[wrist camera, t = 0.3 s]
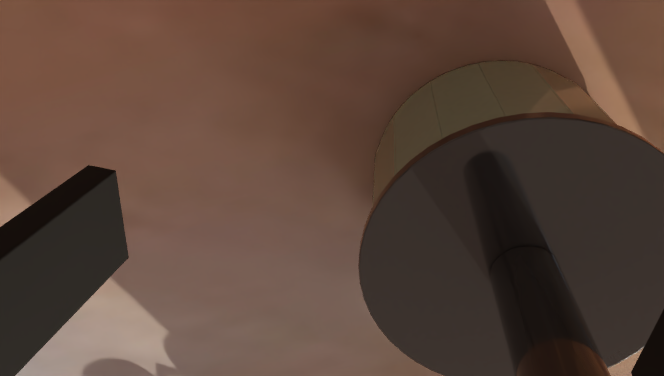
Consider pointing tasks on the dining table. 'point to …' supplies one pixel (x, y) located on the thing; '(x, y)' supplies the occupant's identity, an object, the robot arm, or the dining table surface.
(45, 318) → the robot arm
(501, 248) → the lid
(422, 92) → the pot
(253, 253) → the dining table surface
